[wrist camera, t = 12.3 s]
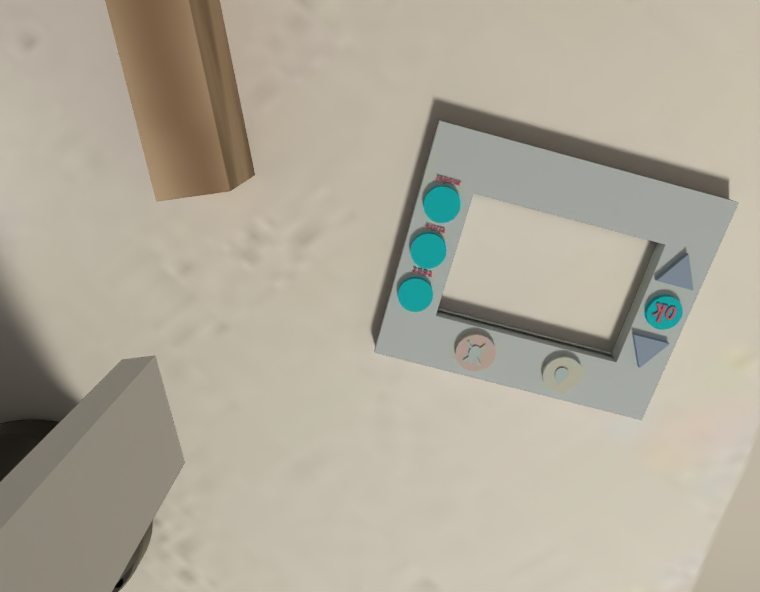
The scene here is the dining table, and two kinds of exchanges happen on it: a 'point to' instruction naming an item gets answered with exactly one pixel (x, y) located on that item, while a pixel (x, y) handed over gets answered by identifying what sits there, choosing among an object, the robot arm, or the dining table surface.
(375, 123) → the dining table surface
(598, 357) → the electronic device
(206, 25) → the brown rectangular block
